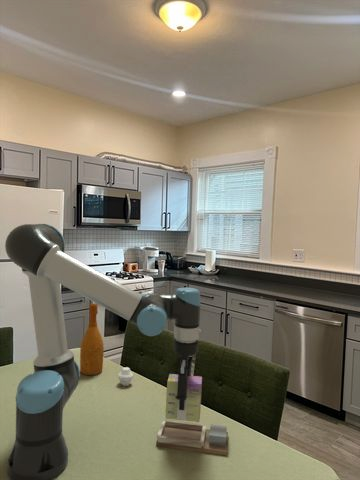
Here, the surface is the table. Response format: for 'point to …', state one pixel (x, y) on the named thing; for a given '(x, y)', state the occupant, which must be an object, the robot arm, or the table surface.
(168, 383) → the box
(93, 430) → the table surface
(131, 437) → the table surface
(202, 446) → the shallow tray
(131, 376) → the white ribbed rounded piece
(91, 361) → the wine bottle
